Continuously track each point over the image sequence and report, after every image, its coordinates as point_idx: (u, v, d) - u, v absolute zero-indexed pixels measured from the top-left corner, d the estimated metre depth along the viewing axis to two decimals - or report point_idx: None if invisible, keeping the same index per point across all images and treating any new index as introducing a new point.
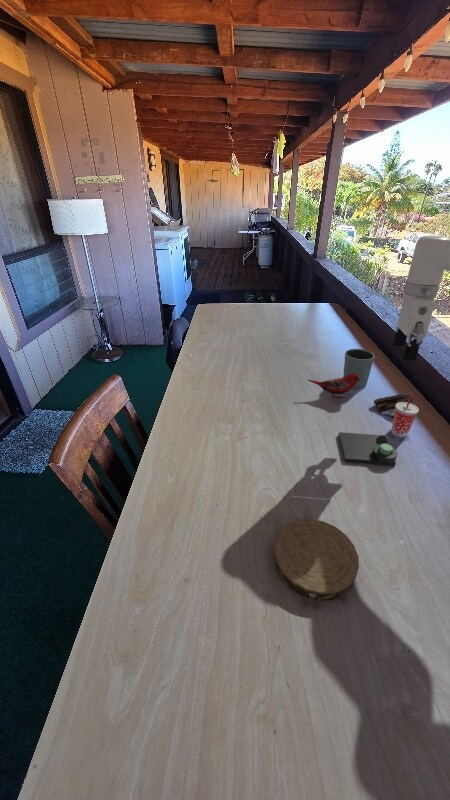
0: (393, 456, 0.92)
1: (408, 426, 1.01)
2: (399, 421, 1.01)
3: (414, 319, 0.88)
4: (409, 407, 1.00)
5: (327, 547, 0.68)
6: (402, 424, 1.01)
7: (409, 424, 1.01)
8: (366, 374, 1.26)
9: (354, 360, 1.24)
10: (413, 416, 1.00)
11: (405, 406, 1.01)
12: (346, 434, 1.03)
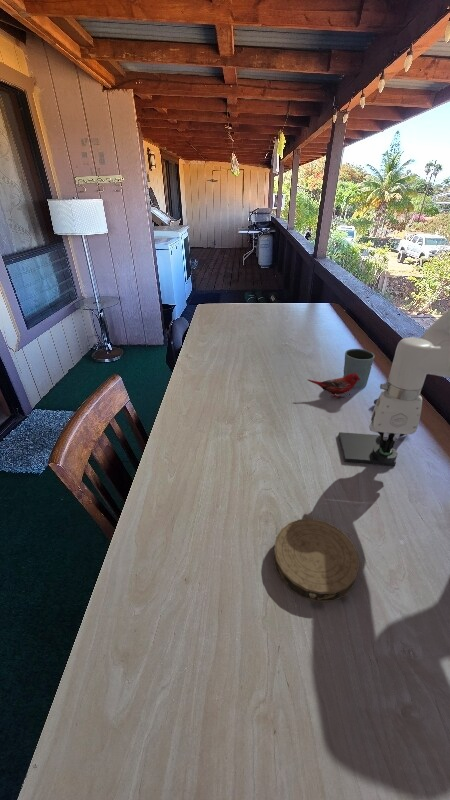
0: (393, 456, 0.92)
1: None
2: None
3: (375, 407, 0.89)
4: None
5: (327, 547, 0.68)
6: None
7: None
8: (366, 374, 1.26)
9: (354, 360, 1.24)
10: None
11: None
12: (346, 434, 1.03)
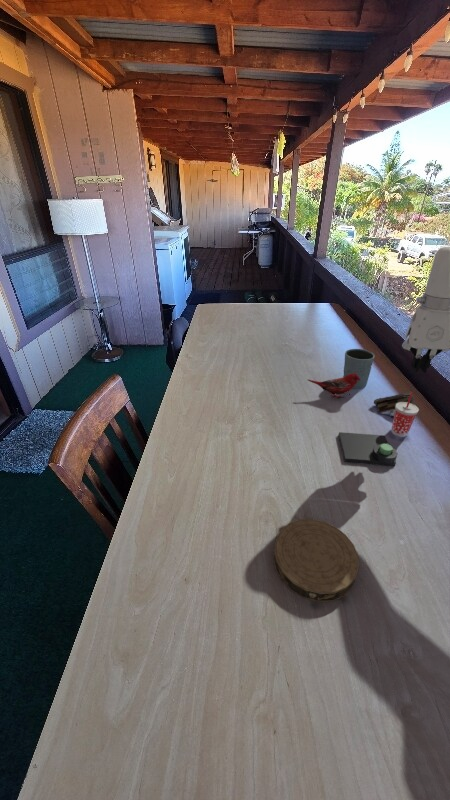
0: (393, 456, 0.92)
1: (408, 426, 1.01)
2: (399, 421, 1.01)
3: (410, 324, 0.90)
4: (409, 407, 1.00)
5: (327, 547, 0.68)
6: (402, 424, 1.01)
7: (409, 424, 1.01)
8: (366, 374, 1.26)
9: (354, 360, 1.24)
10: (413, 416, 1.00)
11: (405, 406, 1.01)
12: (346, 434, 1.03)
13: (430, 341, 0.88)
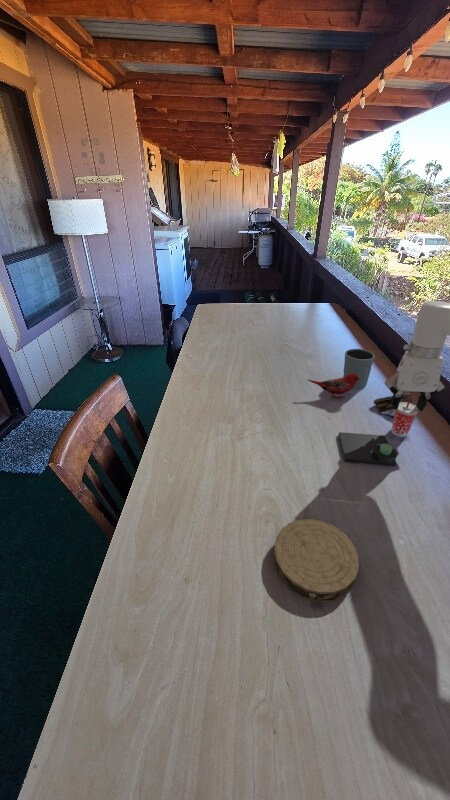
0: (393, 456, 0.92)
1: (408, 426, 1.01)
2: (399, 421, 1.01)
3: (398, 368, 0.97)
4: (409, 407, 1.00)
5: (327, 547, 0.68)
6: (402, 424, 1.01)
7: (409, 424, 1.01)
8: (366, 374, 1.26)
9: (354, 360, 1.24)
10: (413, 416, 1.00)
11: (405, 406, 1.01)
12: (346, 434, 1.03)
13: (416, 385, 0.94)
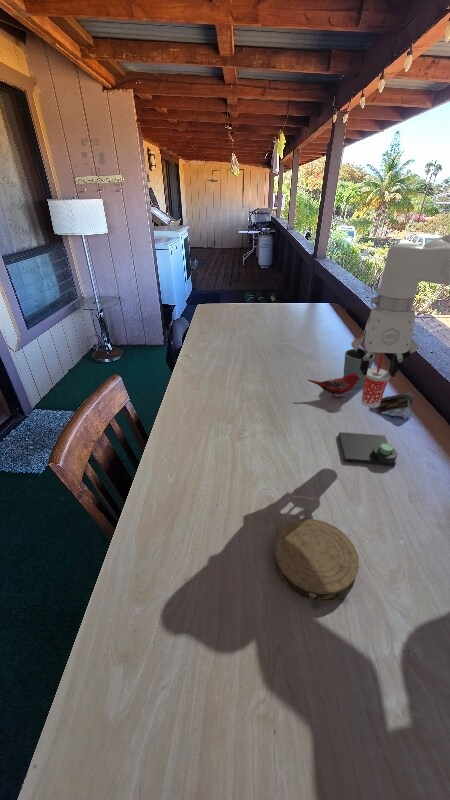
0: (393, 456, 0.92)
1: (379, 394, 0.89)
2: (369, 388, 0.89)
3: (366, 326, 0.85)
4: (380, 373, 0.88)
5: (327, 547, 0.68)
6: (372, 392, 0.89)
7: (380, 392, 0.89)
8: None
9: (354, 360, 1.24)
10: (384, 382, 0.88)
11: (375, 372, 0.89)
12: (346, 434, 1.03)
13: (386, 344, 0.82)
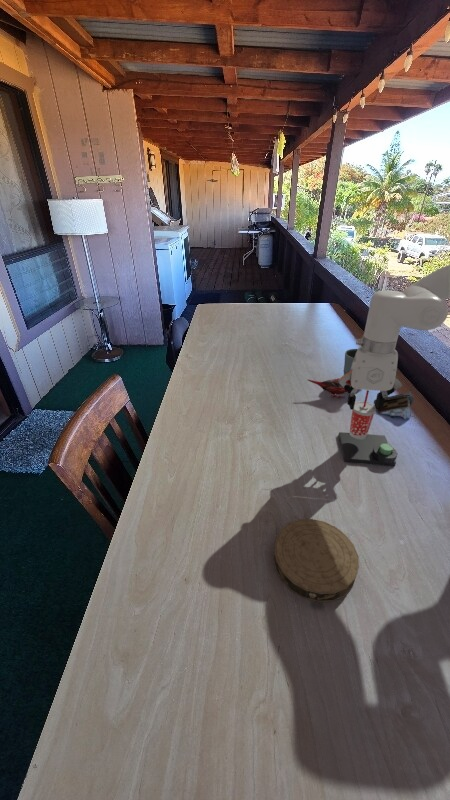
0: (393, 456, 0.92)
1: (365, 427, 0.94)
2: (356, 422, 0.94)
3: (352, 364, 0.89)
4: (366, 407, 0.93)
5: (327, 547, 0.68)
6: (359, 425, 0.94)
7: (367, 425, 0.93)
8: None
9: None
10: (370, 417, 0.92)
11: (362, 406, 0.93)
12: (346, 434, 1.03)
13: (371, 383, 0.86)
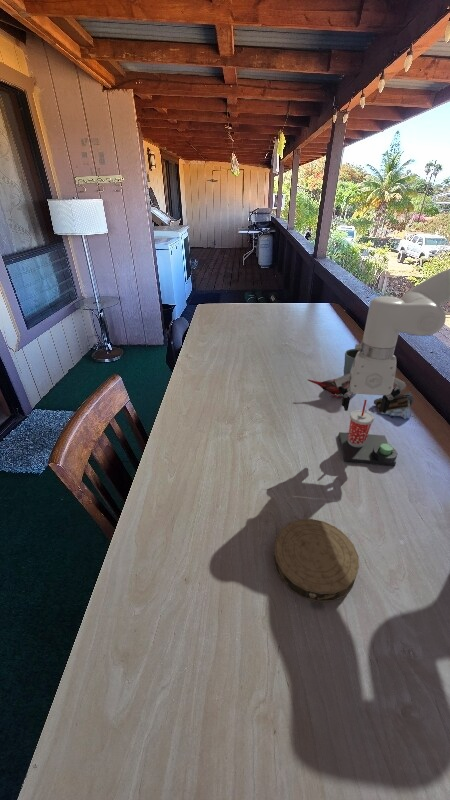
0: (393, 456, 0.92)
1: (363, 436, 0.95)
2: (354, 430, 0.95)
3: (351, 369, 0.90)
4: (364, 416, 0.94)
5: (327, 547, 0.68)
6: (357, 434, 0.95)
7: (365, 433, 0.95)
8: None
9: None
10: (368, 425, 0.93)
11: (360, 415, 0.95)
12: (346, 434, 1.03)
13: (370, 387, 0.87)
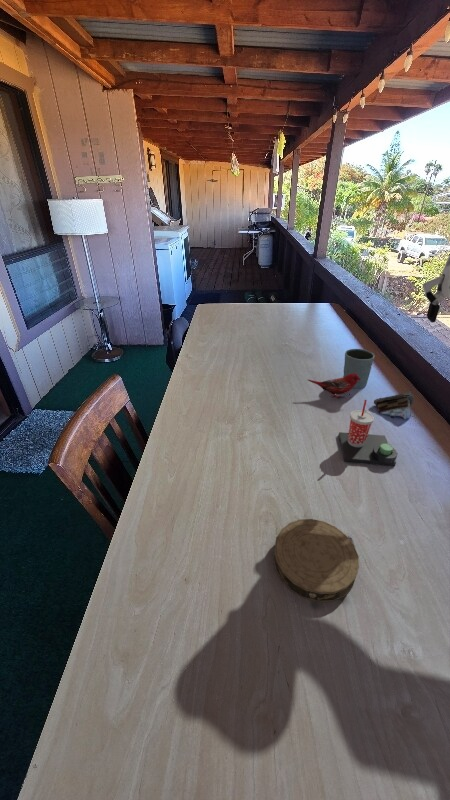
0: (393, 456, 0.92)
1: (363, 436, 0.95)
2: (354, 430, 0.95)
3: (443, 271, 0.78)
4: (364, 416, 0.94)
5: (327, 547, 0.68)
6: (357, 434, 0.95)
7: (365, 433, 0.95)
8: (366, 374, 1.26)
9: (354, 360, 1.24)
10: (368, 425, 0.93)
11: (360, 415, 0.95)
12: (346, 434, 1.03)
13: None
